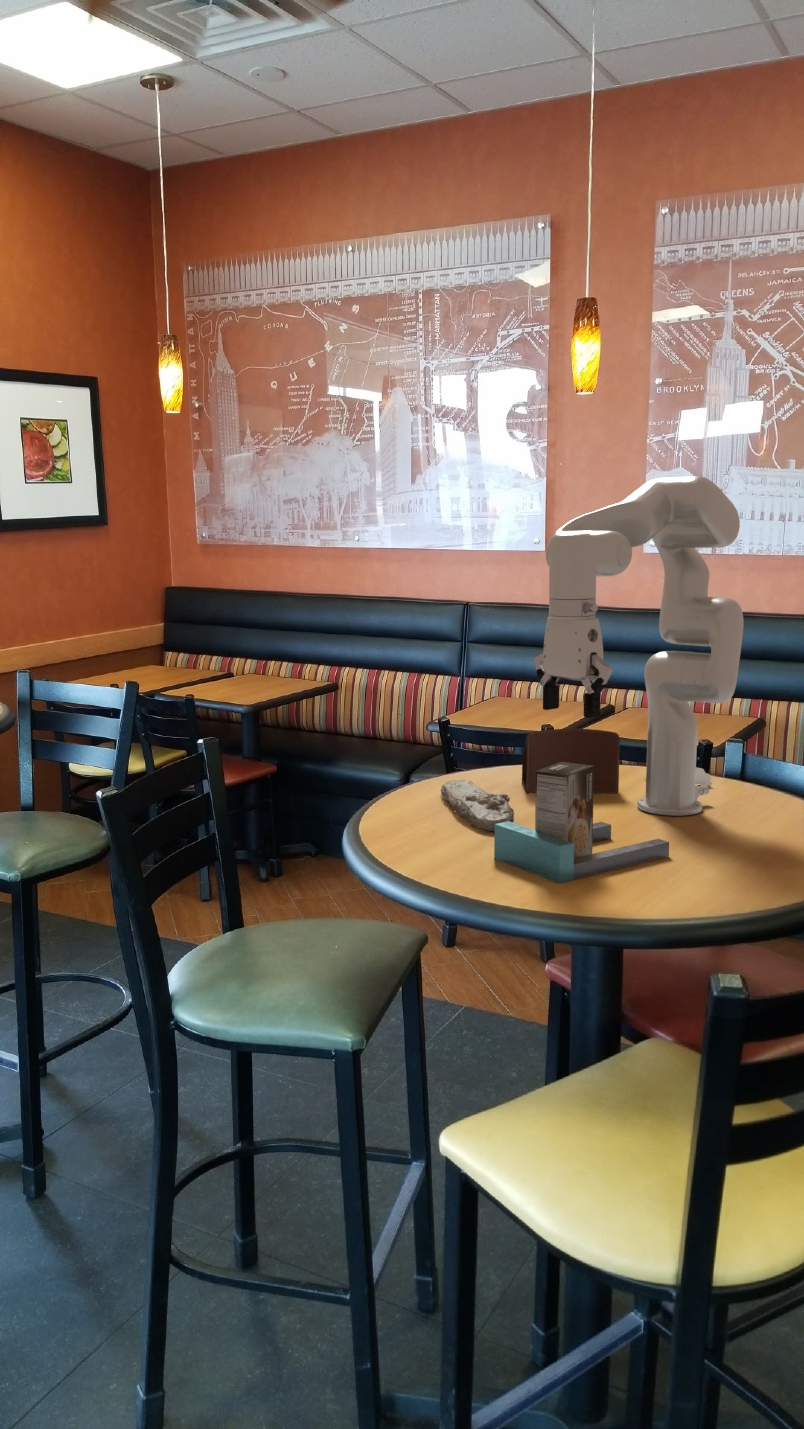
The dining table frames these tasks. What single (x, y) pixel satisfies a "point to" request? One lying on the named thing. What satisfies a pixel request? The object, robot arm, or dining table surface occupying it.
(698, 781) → the car cutout
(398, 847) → the dining table surface
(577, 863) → the keeper channel
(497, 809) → the elongated rock
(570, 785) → the coffee box
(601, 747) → the letter holder
